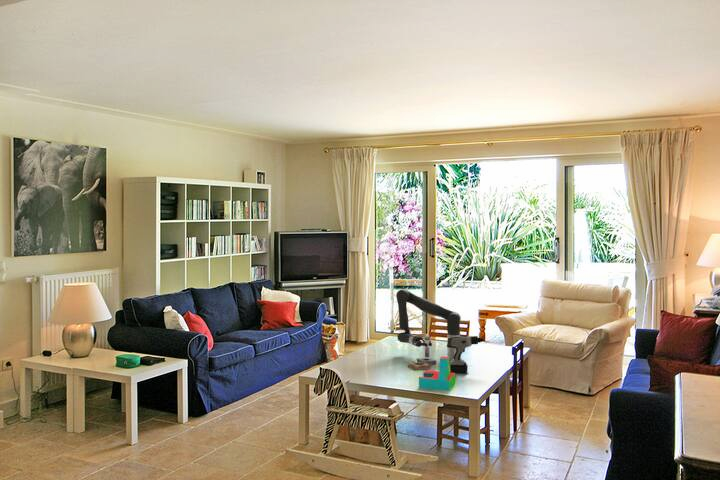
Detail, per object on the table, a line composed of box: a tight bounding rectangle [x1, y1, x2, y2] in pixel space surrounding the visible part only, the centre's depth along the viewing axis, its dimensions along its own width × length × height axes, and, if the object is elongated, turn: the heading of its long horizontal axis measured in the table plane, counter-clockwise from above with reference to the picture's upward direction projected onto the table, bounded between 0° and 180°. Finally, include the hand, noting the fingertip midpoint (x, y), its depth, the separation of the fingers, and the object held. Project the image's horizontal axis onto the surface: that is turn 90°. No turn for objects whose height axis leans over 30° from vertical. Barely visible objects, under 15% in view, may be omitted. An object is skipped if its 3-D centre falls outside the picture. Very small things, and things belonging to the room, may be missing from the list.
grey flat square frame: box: [416, 356, 437, 365], centre depth 436 cm, size 10×10×2 cm
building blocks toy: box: [418, 356, 456, 392], centre depth 381 cm, size 19×25×18 cm
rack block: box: [407, 361, 432, 371], centre depth 422 cm, size 12×10×2 cm
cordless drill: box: [446, 335, 485, 375], centre depth 409 cm, size 8×24×25 cm, turn 78°
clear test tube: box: [424, 333, 430, 358], centre depth 436 cm, size 3×3×16 cm
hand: (429, 344), depth 433 cm, fingers closed on clear test tube, 3 cm apart
